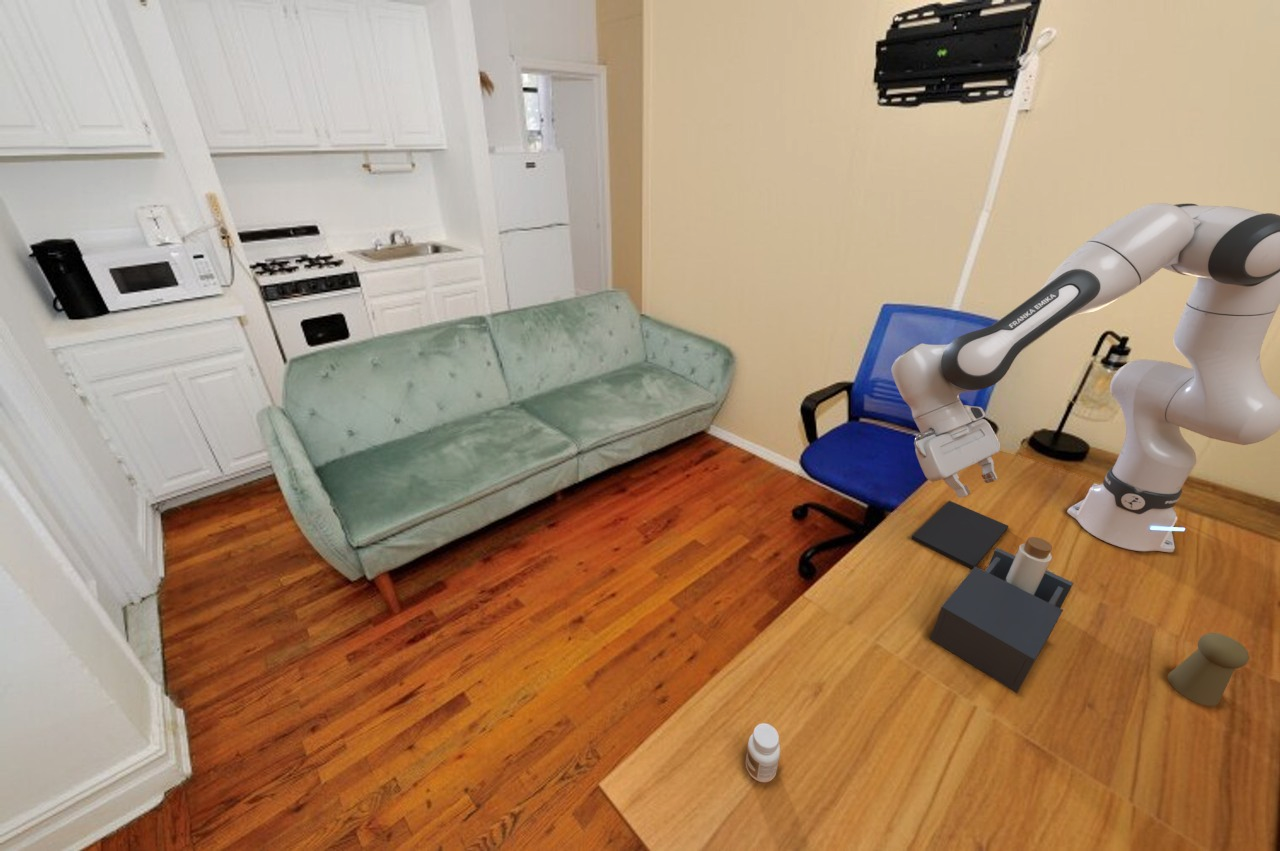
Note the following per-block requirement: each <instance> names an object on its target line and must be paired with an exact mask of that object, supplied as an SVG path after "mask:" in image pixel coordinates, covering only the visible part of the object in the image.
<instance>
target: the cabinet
mask: <svg viewBox="0 0 1280 851" xmlns="http://www.w3.org/2000/svg"><path fill="white" fill-rule="evenodd" d="M1063 611H1064V609H1063V608H1058V607H1056V606H1054V605H1052V604H1050V603H1048V602H1046V601H1044V600H1042V599H1040V598H1038V597H1036V596H1034V595H1032V594H1030V593H1028V592H1026V591H1024V590H1022V589H1020V588H1018V587H1016V586H1014V585H1012V584H1010V583H1008V582H1006V581H1004V580H1002V579H1000V578H998V577H996V576H994V575H992V574H990V573H988V572H986V571H985V570H983V569H982V568H980V567H978V566H976V567H974V568H973V569H971V570H970V571H969V573H968V574H967V575H966V576H965V577H964V579H963V580H962V581H961V582H960V584H958V586H957V587H956V588H955V590H954V591H953V592H952V593H951V594H950V596H949V597H948V598H947V599H946V600H945V602H944V603H942V605H941V606H940V609H939V612H938V615H937V618H936V621H935V623H934V627H933V628H932V631H931V634H930V636H929V640H931V641H933V642H934V643H936V644H937V645H939V646H940V647H941V648H944V649H945V650H947V651H948V652H950V653H952V654H953V655H955V656H957V657H958V658H960V659H961V660H963V661H964V662H966V663H968V664H969V665H971V666H973V667H974V668H976V669H977V670H979V671H981V672H982V673H984V674H985V675H986V676H987V675H988V676H989V677H990V678H992V679H994V680H995V681H997V682H998V683H1000V684H1002V685H1003V686H1005V687H1006V688H1008V689H1010V690H1012V691H1013V692H1015V693H1016V694H1018V692H1019V690H1020V689H1021V687H1022V685H1023V684H1024V682H1025V680H1026V678H1027V677H1028V675H1029V673H1030V671H1031V670H1032V668H1033V666H1034V665H1035V663H1036V661H1037V659H1038V657H1039V656H1040V653H1041V652H1042V651H1043V648H1044V647H1045V645H1046V643H1047V641H1048V639H1049V638H1050V636H1051V634H1052V633H1053V630H1054V628H1055V626H1056V624H1057V623H1058V621H1059V619H1060V618H1061V615H1062V613H1063Z"/></svg>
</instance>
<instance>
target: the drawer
mask: <svg viewBox="0 0 1280 851" xmlns="http://www.w3.org/2000/svg"><path fill="white" fill-rule="evenodd" d="M1015 556H1016V555H1015V554H1012V553H1009V552H1008V551H1005V550H1003V549H1001V548H999V547H996V548H995V549H994V551H993V554H992V555H991V558H990V561H989V564H988V566H987V567H986V568H985V570H984V571H986V572H988V573H990V574H992V575H994V576H996V577H998V578H1000V579H1002V580H1004V581H1005V579H1006V576H1007V574H1008V572H1009V569H1010V567H1011V565H1012V563H1013V560H1014V558H1015ZM1073 585H1074V582H1073V581H1071V580H1069V579H1066V578H1064V577H1063V576H1060V575H1057V574H1055V571H1054V570H1052V569H1049V568H1047V570H1046V572H1045V574H1044V576H1043V578H1042V580H1041V582H1040V584H1039V586H1038V588H1037V590H1036V593H1035V595H1034V596H1036V597H1038V598H1040V599H1042V600H1044V601H1046V602H1048V603H1050V604H1052V605H1054V606H1056V607H1058V608H1060V609H1062V606H1063V605H1064V602H1065V601H1066V599H1067V597H1068V594H1069V593H1070V591H1071V589H1072V587H1073Z"/></svg>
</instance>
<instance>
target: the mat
mask: <svg viewBox="0 0 1280 851" xmlns="http://www.w3.org/2000/svg"><path fill="white" fill-rule="evenodd" d="M1008 529H1009V525H1008V524H1005V523H1003V522H1001V521H998V520H996V519H993V518H991V517H989V516H987V515H984V514H982V513H979V512H977V511H975V510H973V509H970V508H968V507H966V506H964V505H961V504H959V503H956V502H954V501H951V500H947V502H946V503H945V504H944V505H943V506H942V507H941V508H939V509H938V510H937V511H936V512H935V513H934V514H933V515H932V516H931V517H930V518H929V519H928V520H927V521H926V522H925V523H923V525H921V526H920V527H919V528H918V530H916V531H915V532H914V533H913V534H912V535H911V538H910V539H911V540H913V541H915V542H917V543H919V544H921V545H923V546H925V547H927V548H928V549H931V550H932V551H935V552H936V553H938V554H940V555H942V556H945V557H946V558H949V559H950V560H953V561H955V562H956V563H958V564H961V565H962V566H964V567H966V568H969V569H971V570H972V569H973V568H974V567H978V565H979V564H980V563H981V561H982V560H983V559H984V558H985V556H986V555H987V554H988V553H989V552H990V551H991V549H992V548H993V547H994V545H996V544H997V542H998V541H999V540H1000V539H1001V538H1002V536H1003V535H1004V534H1005V533H1006V531H1007V530H1008Z"/></svg>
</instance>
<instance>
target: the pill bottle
mask: <svg viewBox="0 0 1280 851" xmlns="http://www.w3.org/2000/svg"><path fill="white" fill-rule="evenodd" d="M752 732H753V733H752V734H751V735H750V736H749V739H748V742H747V749H746V757H745V768H746V770H747V772H748V774H749V776H750V777H751V778H753V779H754V780H755V781H757V782H759V783H768V782H771V781H772V780H773V779H774V778H775V777H776V775H777V772H778V766H779V761H780V756H781V746H780V736H779V733H778V731H777V729H776V728H775V727H774V726H772V725H771V724H769V723H764V722H763V723H759V724H757V725H755V727H754V729H753V731H752Z"/></svg>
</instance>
